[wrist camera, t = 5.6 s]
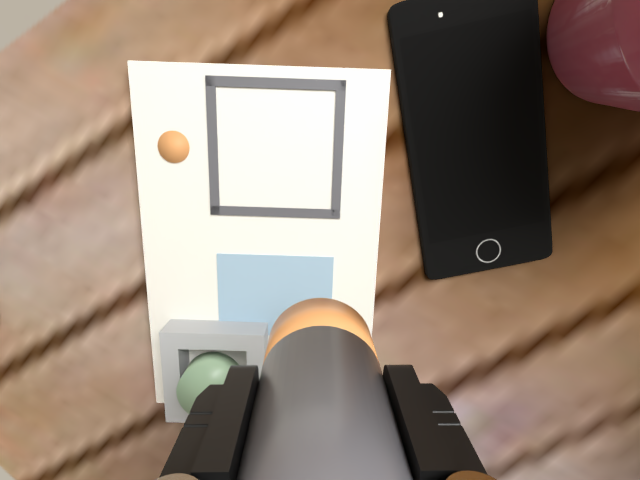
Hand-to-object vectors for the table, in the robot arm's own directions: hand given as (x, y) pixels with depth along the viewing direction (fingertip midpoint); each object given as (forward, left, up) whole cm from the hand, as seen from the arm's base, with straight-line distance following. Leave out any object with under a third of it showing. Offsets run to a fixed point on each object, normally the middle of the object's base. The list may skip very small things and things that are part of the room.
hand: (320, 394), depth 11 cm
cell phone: (-10, -7, -17) cm, 21 cm away
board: (+4, +1, -17) cm, 17 cm away
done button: (+7, +9, -14) cm, 18 cm away
